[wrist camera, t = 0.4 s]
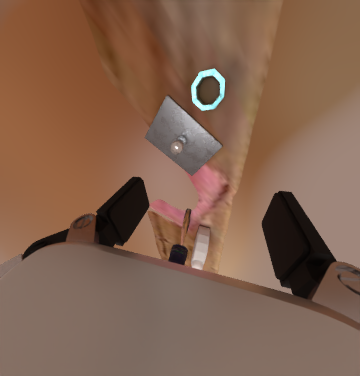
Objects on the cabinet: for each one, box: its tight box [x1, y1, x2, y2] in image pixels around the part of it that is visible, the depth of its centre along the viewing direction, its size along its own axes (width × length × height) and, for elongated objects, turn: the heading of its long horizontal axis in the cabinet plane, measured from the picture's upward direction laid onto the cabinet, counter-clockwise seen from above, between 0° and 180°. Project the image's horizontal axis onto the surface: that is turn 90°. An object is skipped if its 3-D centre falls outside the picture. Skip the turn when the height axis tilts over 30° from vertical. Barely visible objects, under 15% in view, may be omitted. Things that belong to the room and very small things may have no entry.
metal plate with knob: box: [145, 95, 223, 175], centre depth 38 cm, size 20×14×7 cm
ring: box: [191, 69, 225, 110], centre depth 31 cm, size 7×7×4 cm
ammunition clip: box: [181, 209, 191, 245], centre depth 57 cm, size 11×2×12 cm, turn 178°
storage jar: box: [168, 244, 188, 265], centre depth 75 cm, size 10×10×15 cm
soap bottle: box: [191, 226, 210, 270], centre depth 58 cm, size 16×5×20 cm, turn 175°
